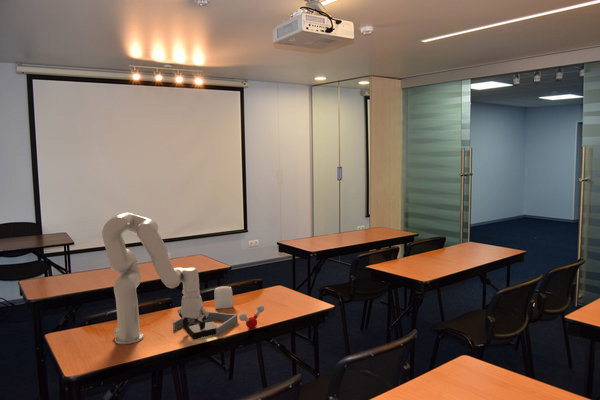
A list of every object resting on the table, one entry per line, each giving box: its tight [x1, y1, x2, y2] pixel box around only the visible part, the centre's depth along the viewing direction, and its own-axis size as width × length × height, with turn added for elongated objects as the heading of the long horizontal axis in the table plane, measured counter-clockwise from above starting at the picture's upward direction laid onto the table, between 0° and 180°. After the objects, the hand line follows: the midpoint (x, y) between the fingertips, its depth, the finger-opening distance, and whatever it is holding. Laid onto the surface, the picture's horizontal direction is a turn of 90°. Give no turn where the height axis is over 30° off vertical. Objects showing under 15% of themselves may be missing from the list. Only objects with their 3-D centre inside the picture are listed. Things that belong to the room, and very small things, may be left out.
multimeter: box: [184, 317, 219, 340], centre depth 215 cm, size 13×19×5 cm
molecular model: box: [238, 304, 265, 330], centre depth 215 cm, size 18×6×10 cm, turn 154°
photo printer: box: [213, 285, 234, 310], centre depth 247 cm, size 10×4×12 cm, turn 99°
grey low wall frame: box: [172, 310, 239, 337], centre depth 220 cm, size 26×19×4 cm
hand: (194, 327), depth 209 cm, fingers open, 9 cm apart
